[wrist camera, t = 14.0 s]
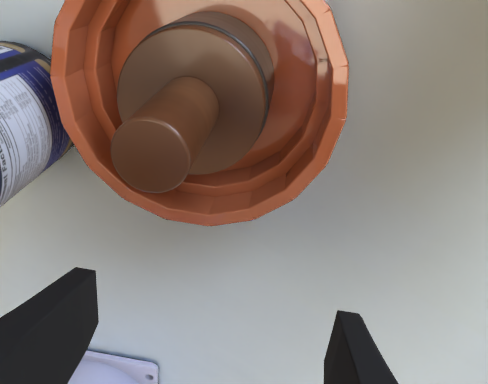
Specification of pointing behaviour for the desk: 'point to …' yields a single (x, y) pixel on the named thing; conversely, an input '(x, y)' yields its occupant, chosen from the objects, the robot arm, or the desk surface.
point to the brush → (190, 100)
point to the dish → (277, 123)
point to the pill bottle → (27, 119)
